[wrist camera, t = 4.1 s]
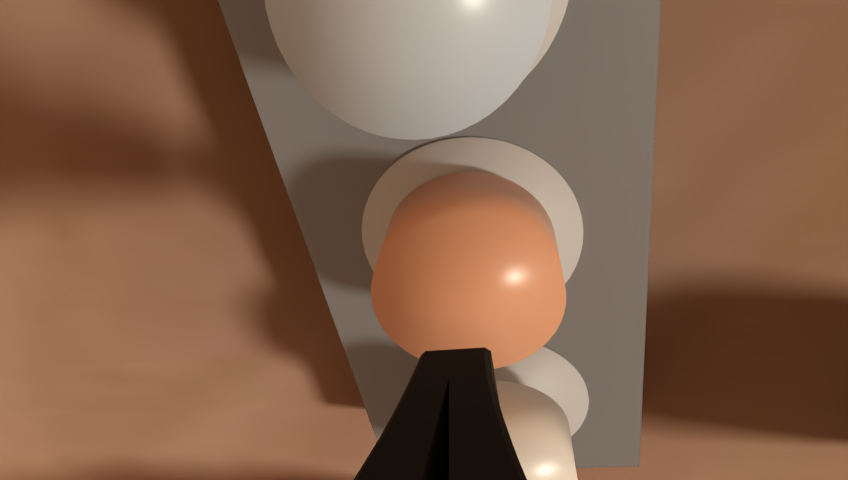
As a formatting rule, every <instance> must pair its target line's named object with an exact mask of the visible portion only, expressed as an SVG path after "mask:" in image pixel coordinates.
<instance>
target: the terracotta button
mask: <svg viewBox="0 0 848 480" xmlns="http://www.w3.org/2000/svg"><path fill="white" fill-rule="evenodd" d="M371 301H372V305H373V310H374V312H375V315H376V317H377V319H378V321H379V323H380V325H381V326H382V328H383V329H384V331H385V332H386V333H387V335H388V336H389V337H390V338H391V339H392V340H393V341H394V342H395V343H396V344H397V345H399V346H400V347H401V348H402V349H404V350H405V351H407V352H408V353H410V354H411V355H413V356H415V357H417V358H420V356H421V355H422V354H423V353H424V352H425V351H434V350H450V349H466V348H482V347H485V348H487V349H488V350H490V351H491V354H492V360H493V366H494V369H496V368H501V367H504V366H508V365H511V364H514V363H516V362H518V361H521V360H523V359H525V358H527V357H528V356H530V355H532V354H533V353H535V352H536V351H538V350H539V349H540V348H542V347H543V346H544V345H545V344H546V343H547V342H548V341H549V340H550V338H551V337H552V336H553V335H554V333H555V332H556V330H557V329H558V327H559V325H560V323H561V321H562V318H563V315H564V312H565V307H566V288H565V282H564V277H563V272H562V267H561V262H560V257H559V252H558V247H557V242H556V237H555V232H554V229H553V225H552V222H551V220H550V218H549V216H548V214H547V212H546V210H545V209H544V208H543V206H542V205H541V203H540V202H539V201H538V200H537V199H536V198H535V197H534V196H533V195H532V194H531V193H529V192H528V191H527V190H526V189H524V188H523V187H521V186H519V185H518V184H516V183H514V182H512V181H510V180H508V179H505V178H503V177H499V176H496V175H493V174H487V173H481V172H458V173H452V174H446V175H443V176H440V177H436V178H434V179H431V180H429V181H427V182H425V183H423V184H421V185H420V186H418V187H417V188H415V189H414V190H413V191H411V192H410V193H409V194H408V195H407V196H406V197H405V198H404V199H403V200H402V201H401V202H400V204H399V205H398V207H397V208H396V210H395V211H394V213H393V215H392V218H391V220H390V223H389V226H388V229H387V232H386V235H385V238H384V242H383V245H382V248H381V251H380V254H379V258H378V261H377V264H376V267H375V270H374V274H373V277H372V282H371Z"/></svg>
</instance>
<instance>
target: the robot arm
mask: <svg viewBox="0 0 848 480" xmlns="http://www.w3.org/2000/svg"><path fill="white" fill-rule="evenodd" d="M354 480H527V479H526V476H525V474H524V471H523V469H522V467H521V464H520V462H519V459H518V457H517V454H516V452H515V449H514V446H513V444H512V441H511V438H510V435H509V432H508V429H507V426H506V423H505V421H504V418H503V415H502V411H501V408H500V403H499V397H498V391H497V385H496V379H495V373H494V366H493V360H492V354H491V351H490V350H488V349H487V348H485V347H482V348H466V349H450V350H434V351H425V352H424V353H423V354H422V355H421V356H420V358H419V361H418V363H417V366H416V368H415V370H414V372H413V374H412V377H411V379H410V381H409V383H408V385H407V387H406V389H405V391H404V393H403V395H402V397H401V399H400V401H399V403H398V405H397V407H396V409H395V411H394V412H393V414H392V416H391V418H390V420H389V421H388V423H387V425H386V427H385V429H384V431H383V432H382V434H381V436H380V438H379V440H378V441H377V443H376V445H375V446H374V448H373V450H372V451H371V453H370V454H369V456H368V458H367V459H366V461H365V463H364V464H363V466H362V467H361V469H360V471H359V472H358V474H357V475H356V477H355V479H354Z"/></svg>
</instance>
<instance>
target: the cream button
mask: <svg viewBox="0 0 848 480" xmlns="http://www.w3.org/2000/svg"><path fill="white" fill-rule="evenodd" d="M496 385H497V391H498V397H499V403H500V408H501V411H502V415H503V418H504V421H505V423H506V426H507V429H508V432H509V435H510V438H511V441H512V444H513V446H514V449H515V452H516V454H517V457H518V459H519V462H520V464H521V467H522V469H523V471H524V474H525V476H526V479H527V480H577V474H576V467H575V461H574V454H573V448H572V441H571V435H570V428H569V422H568V419H567V416H566V414H565V413H564V411H563V409H562V408H561V407H560V406H559V405H558V403H556V402H555V401H554V400H553V399H552V398H550V397H549V396H548V395H546V394H545V393H543V392H541V391H539V390H537V389H534V388H532V387H529V386H526V385H522V384H519V383H513V382H507V381H496Z"/></svg>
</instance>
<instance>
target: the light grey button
mask: <svg viewBox="0 0 848 480" xmlns="http://www.w3.org/2000/svg"><path fill="white" fill-rule="evenodd" d="M551 4H552V0H265V6H266V11H267V15H268V19H269V23H270V27H271V30H272V32H273V35H274V38H275V40H276V43H277V45H278V48H279V50H280V52H281V54H282V55H283V57H284V59H285V61H286V63H287V65H288V66H289V68H290V69H291V71H292V72H293V74H294V75H295V77H296V78H297V80H298V81H299V82H300V83H301V85H302V86H303V87H304V88H305V89H306V91H307V92H308V93H309V94H310V95H311V96H312V97H313V98H314V99H315V100H316V101H317V102H319V103H320V104H321V105H322V106H323V107H324V108H326V109H327V110H328V111H330V112H331V113H332V114H334V115H335V116H336V117H338V118H340V119H341V120H343V121H345V122H347V123H348V124H350V125H352V126H354V127H357V128H359V129H361V130H363V131H366V132H369V133H372V134H376V135H379V136H383V137H389V138H394V139H406V140H419V139H431V138H436V137H441V136H446V135H449V134H452V133H455V132H458V131H461V130H463V129H465V128H467V127H469V126H471V125H473V124H475V123H477V122H479V121H480V120H482V119H483V118H485V117H486V116H488V115H490V114H491V113H492V112H494V111H495V110H496V109H497V108H498V107H499V106H501V105H502V104H503V103H504V102H505V101H506V100H507V99H508V98H509V97H510V96H511V95H512V93H513V92H514V91H515V90H516V89H517V88H518V87H519V85H520V84H521V82H522V81H523V79H524V78H525V77H526V75H527V74H528V72H529V70H530V69H531V67H532V65H533V63H534V61H535V59H536V57H537V55H538V53H539V50H540V48H541V45H542V43H543V40H544V37H545V34H546V30H547V26H548V22H549V18H550V12H551Z"/></svg>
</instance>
